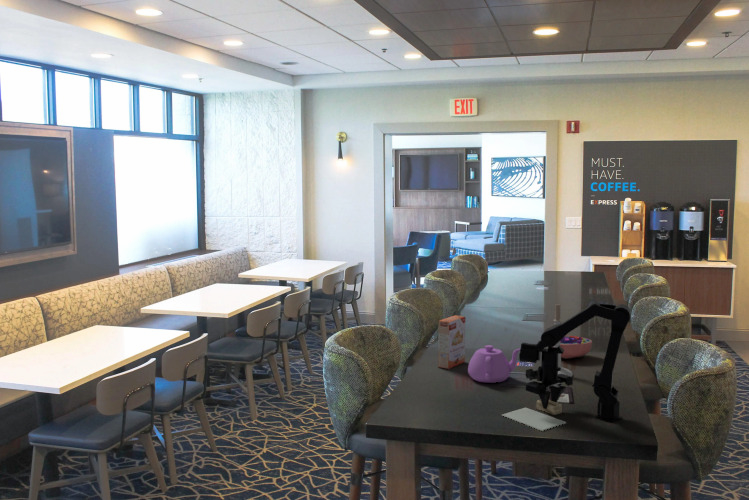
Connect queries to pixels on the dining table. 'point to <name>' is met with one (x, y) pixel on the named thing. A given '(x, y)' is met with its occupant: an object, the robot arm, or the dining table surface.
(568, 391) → the chocolate bar
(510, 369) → the teapot
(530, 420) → the sage mat
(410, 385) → the dining table surface
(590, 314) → the robot arm
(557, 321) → the candlestick
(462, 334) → the cracker box
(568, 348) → the cell model
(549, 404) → the grooved tan block
